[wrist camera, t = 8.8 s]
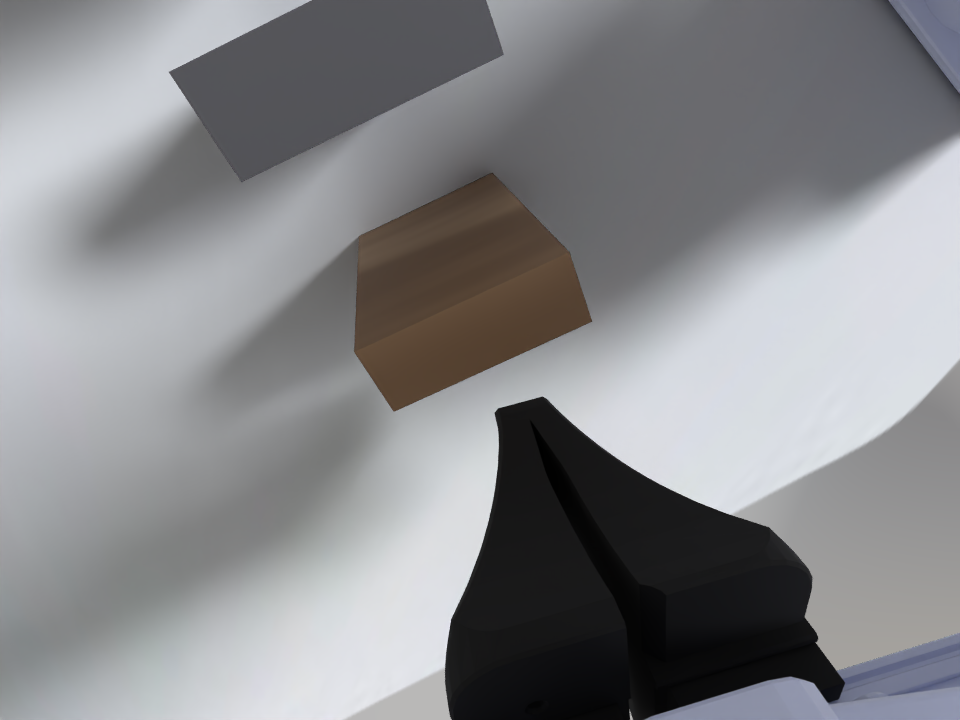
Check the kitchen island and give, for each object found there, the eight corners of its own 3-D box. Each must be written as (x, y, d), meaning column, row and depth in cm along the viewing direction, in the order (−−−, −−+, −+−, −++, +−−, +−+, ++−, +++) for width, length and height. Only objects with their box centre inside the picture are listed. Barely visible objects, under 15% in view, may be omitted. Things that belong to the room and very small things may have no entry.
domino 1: (443, 49, 14) (503, 54, 8) (293, 122, 14) (241, 182, 8) (416, -22, 13) (461, -76, 7) (257, 58, 13) (168, 72, 7)
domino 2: (511, 221, 16) (592, 321, 10) (384, 280, 17) (393, 411, 11) (492, 172, 16) (569, 251, 10) (359, 236, 16) (354, 352, 10)
